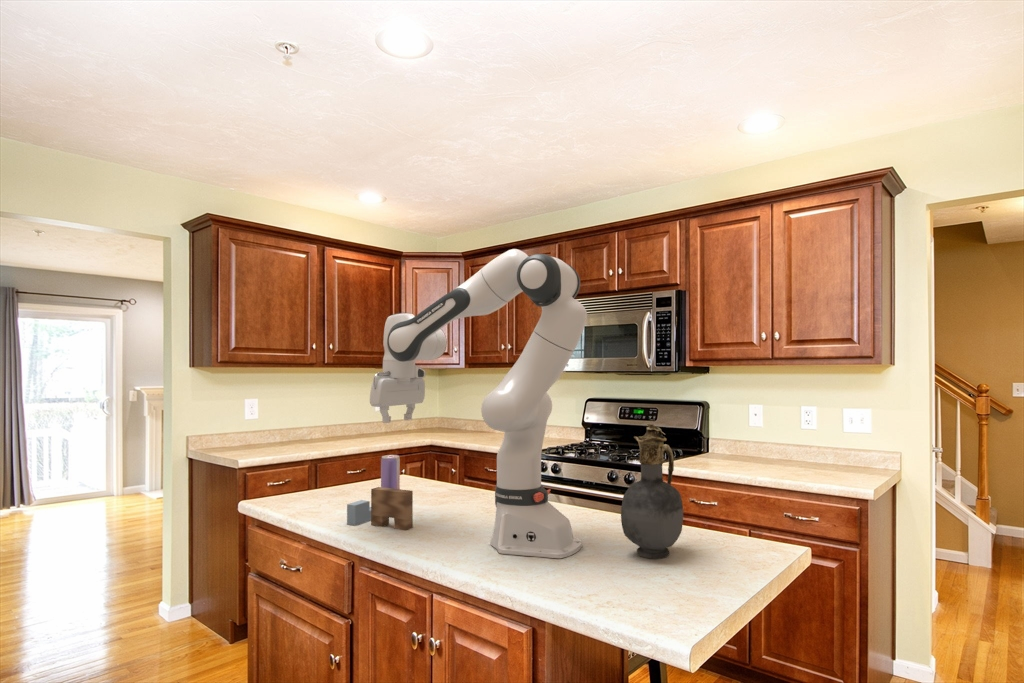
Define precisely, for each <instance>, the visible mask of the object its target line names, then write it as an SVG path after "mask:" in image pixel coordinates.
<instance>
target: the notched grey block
mask: <svg viewBox="0 0 1024 683" xmlns="http://www.w3.org/2000/svg"><path fill="white" fill-rule="evenodd" d="M346 504H347V505H346V525H348V526H359V525H361V524H365V523H367V522H371V500H370V501H369V500H362V499H360V500H358V501H354V502H350V503H346Z"/></svg>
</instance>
